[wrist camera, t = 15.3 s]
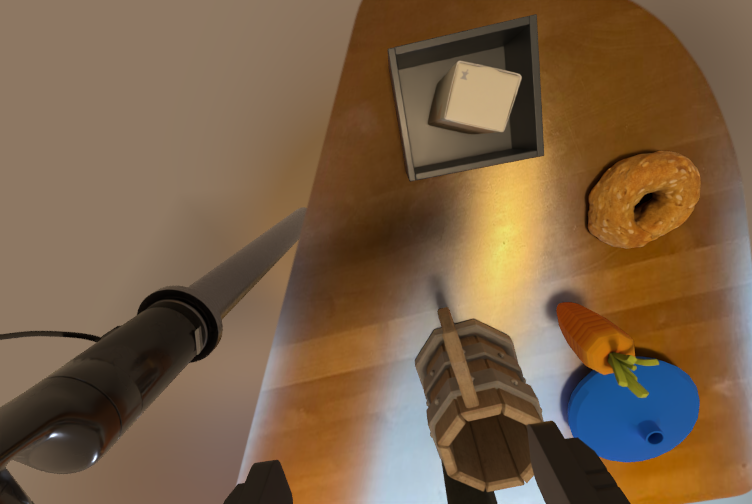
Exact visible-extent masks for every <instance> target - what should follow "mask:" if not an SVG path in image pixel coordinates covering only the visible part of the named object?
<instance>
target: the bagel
mask: <svg viewBox="0 0 752 504" xmlns="http://www.w3.org/2000/svg"><path fill="white" fill-rule="evenodd" d="M700 181H701V179H700V174H699V172H698V169H697V168H696V167H695V166H694V165H693V163H692V162H691V161H690V159H688V158H687V157H685V156H683V155H680V154H678V153H675V152H671V151H657V152H654V153H649V154H639V155H636V156H633V157H629V158H626V159H623V160H621V161H618V162H617V163H615V165H613V166H612V167H611V168H609V169H608V170H607V171H606V172H605V173H604V174H603V176H602V178H601V179H600V180H599V182H598V183H597V184H596V185H595V186H594V188H593V189H592V191H591V193H590V194H589V204H590V206H589V207H590V209H589V212H588V218H589V220H588V229H589V231H590V233H591V234H592V235H594V236H596V237H598V238H599V240H600V241H603V242H605V243H607V244H609V245H611V246H614V247H622V248H626V249H628V248H634V247H643V246H644V245H646V244H647V243H648V242H650V241H653V240H655V239H657V238H658V237H659V236H662V235H665V234H666V233H668V232H669V231H671V230H672V229H675V228H677V227H678V226H680V225H682V224H683V222H685V221H686V220H687V218H688V217H689V216H690V214H691V213H692V211H693V210H694V206H695V204H696V203H697V202H698V200H699V197H700V186H701V184H700ZM647 193H652V194H653V198H651V200H650V201H648V202H646V203H643V204H642V205H640V206H639V207H638V208H636V209H634V206H635V205H636V204H638V203H639V201H640V200H641V198H642V197H643V196H644V195H645V194H647Z"/></svg>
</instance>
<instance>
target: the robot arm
mask: <svg viewBox="0 0 752 504" xmlns="http://www.w3.org/2000/svg"><path fill="white" fill-rule="evenodd" d="M31 336H32V337H33V336H49V337H69V338H79V339H86V340H90V341H94V342H96V344H94V345H93V346H91V347H90V348H88V349H87V350H86V351H84V352H83V353H81V354H80V355H78V356H77V357H75V358H74V359H72V360H71V361H69V362H68V363H66V364H65V365H64V366H62V367H61V368H59V369H58V370H56V371H55V372H53V373H52V374H50V375H49V376H48V377H46V378H45V379H43V380H42V381H40V382H39V383H38V384H36V385H34V386H33V387H31V388H30V389H28V390H27V391H26V392H24V393H22V394H21V395H19V396H18V397H16V398H14V399H13V400H12V401H10V402H8V403H6V404H5V405H3V406H2V407H0V504H34V503H33V502H32V501H31V499H30V497H29V496H28V495H27V494H26V492H25V491H24V490H23V489H22V487H21V486H20V485H19V484H18V482H17V481H16V480H15V479H14V477H13V476H12V475H11V474H10V473H9V471H8V470H7V469H6V466H7V464H8V463H9V462H10V461H11V460H14V461H17V462H20V463H22V464H24V465H27V466H29V467H32V468H34V469H37V470H40V471H44V472H48V473H54V474H71V473H76V472H80V471H83V470H85V469H87V468H89V467H91V466H92V465H94V464H95V463H96V462H98V461H99V460H100V459H101V458H102V457H103V455H105V454H106V452H108V450H109V449H110V448H111V447H112V446H113V445H114V444H115V443H116V442H117V441H118V440H119V439H120V437H121V436H122V435H123V434H124V433H125V432H126V431H127V430H128V429H129V428H130V427H131V425H132V424H133V423H134V422H135V421H136V420H137V419H138V418H139V417H140V415H141V414H142V413H143V412H144V411H145V410H146V409H147V408H148V407H149V406H150V405H151V403H152V402H153V401H154V400H155V399H156V398H157V397H158V396H159V395H160V394H161V393H162V392H163V391H164V389H165V388H166V387H167V386H168V385H169V384H170V383H171V382H172V381H173V379H175V378H176V376H177V375H178V374H179V373H180V372H181V371H182V370H183V369H184V368H185V367H186V366H187V364H188V363H189V362H190V361H191V360H192V359H193V358H194V357H195V356H196V355H198V354H199V353H200V352H201V351H202V350H203V348H204V347H205V346H206V344H207V342H208V340H209V326H208V323H207V320H206V318H205V317H204V315H203V314H202V313H201V312H200V310H199V309H197V308H196V307H195V306H194V305H192V304H191V303H189V302H187V301H184V300H181V299H177V298H165V299H161V300H158V301H156V302H155V303H153V304H152V305H150V306H149V307H148V308H147V309H146V310H144V311H143V312H141V313H140V314H139V315H137V316H136V317H134V318H133V319H131V320H130V321H128V322H127V323H125V324H124V325H121V326H117V327H115V328H114V329H112V330H111V331H109V332H108V333H106V334H105V335H103V336H102V337H98V336H95V335H91V334H85V333H76V332H62V331H24V332H15V333H7V334H0V340H4V339H12V338H20V337H31ZM527 431H528V440H529V450H530V459H531V465H532V470H533V473H534V476H535V479H536V482H537V485H538V487H539V489H540V492H541V494H542V496H543V498H544V501H545V503H546V504H630V502H629V501H628V499H627V498H626V496H625V495H624V493H623V492H622V490H621V489H620V488H619V487H618V486H617V483H616V482H615V480H614V479H613V477H612V476H611V474H610V473H609V472H608V471H607V468H606V467H605V465H604V464H603V462H602V461H601V460H600V458H599V457H598V455H597V454H596V452H595V451H594V450H593V449H592V448H590V447H589V446H588V445H587V444H585V443H584V442H583V441H581V440H580V439H579V438H578V437H576V438H569V439H564V437H563V435H562V434H561V432H560V430H559V429H558V427H557V425H556V424H555V423H554V422H553V421H546V422H540V423H533V424H528V425H527ZM224 504H293V498H292V493H291V490H290V488H289V485H288V482H287V480H286V477H285V474H284V471H283V469H282V466H281V464H280V462H279V461H278V460H273V461H266V462H259V463H255V464H253V466H252V467H251V469H250V472H249V474H248V476H247V479H246V481H245V483H242V484H238V485H237V486H236V487H235V489H234V490H233V491H232V492H231V494H230V495H229V496H228V497H227V499H226V500H225V501H224Z"/></svg>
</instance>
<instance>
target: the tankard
mask: <svg viewBox="0 0 752 504" xmlns="http://www.w3.org/2000/svg"><path fill="white" fill-rule="evenodd" d="M438 315H439V319H440V323H441V326H442V328H440V329H436V330H434V331H433V333H432V334H431V336H430V337H429V339H428V341H427V342H426V344H425V345H424V347H423V349H422V350H421V352H420V353H419V355H418V357H417V358H416V360H415V366H416V369H417V372H418V375H419V378H420V381H421V383H422V386H423V389H424V393H425V396H426V399H427V402H426V404H427V406H428V409H427V410H426V411H427V419H428V426H429V429H430V431H431V433H430V436H431V437H432V438H433V440H434V442H435V445H436V448H437V451H438V453H439V456H440V459H442V461H443V463H444V466H445V469H446V472H447V474H448V475H449V476H450V477H451V478H453V479H455V480H458V481H460V482H462V483H465V484H467V485H469V486H472V487H474V488H476V489H479V490H481V491H483V492H484V489H486V492H490V491H495V490H500V489H505V488H511V487H516V486H521V485H524V481H525V482H526V483H528V481H529V480H530V479H531V478H532V477H533V476H534V473H533V470H532V465H531V459H530V450H529V440H528V431H527V425H528V424H533V423H540V422H544V421H543V417H542V409H541V407H540V405H539V401H538V398H537V397H536V395H535V393H534V391H533V389H532V388H531V386H530V385H528V384H526V383H525V382H526V380H525V378H523V374H522V371H521V368H520V366H519V364H518V361H517V357H516V353H515V349H514V346H513V342H512V340H511V338H510V337H509V336H508V335H506V334H504V333H501V332H499V331H497V330H495V329H493V328H491V327H489V326H487V325H485V324H483V323H481V322H479V321H476V320H474V319H473V320H469V321H466V322H462V323H458V324H455V325H454V322H453V319H452V316H451V313H450V310H449V308H447V307H445V308H441V309H439V310H438Z"/></svg>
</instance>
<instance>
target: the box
mask: <svg viewBox="0 0 752 504" xmlns="http://www.w3.org/2000/svg"><path fill="white" fill-rule="evenodd" d="M521 78H522V77H521V75H520V74H517V73H514V72H510V71H506V70H501V69H497V68H492V67H488V66H483V65H479V64H474V63H469V62H464V61H458V62H457V63H456V64H455V65H454V66H453V67H452V68H451V69H450V70H449V72H448V73H447V74H446V75H445V76H444V77H443V78H442V79H441V80H440V81H439V82H438V83H437V86H436V89H435V93H434V97H433V101H432V105H431V109H430V114H429V119H428V125H430V126H434V127H439V128H443V129H447V130H452V131H456V132H461V133H466V134H483V133H496V132H504V130H505V127H506V124H507V122H508V119H509V116H510V113H511V110H512V107H513V104H514V101H515V97H516V94H517V91H518V88H519V85H520V82H521Z"/></svg>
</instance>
